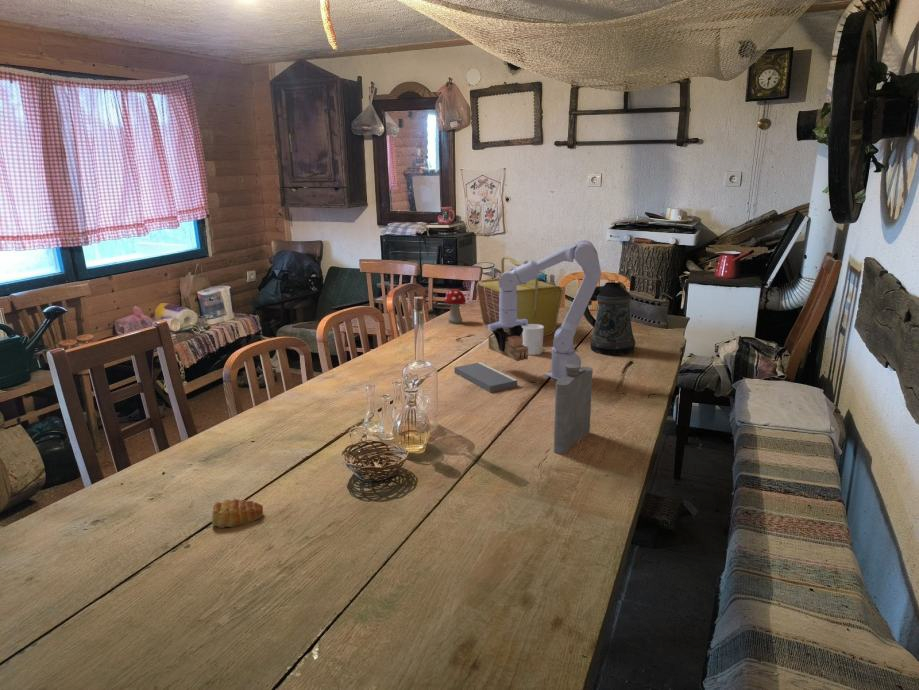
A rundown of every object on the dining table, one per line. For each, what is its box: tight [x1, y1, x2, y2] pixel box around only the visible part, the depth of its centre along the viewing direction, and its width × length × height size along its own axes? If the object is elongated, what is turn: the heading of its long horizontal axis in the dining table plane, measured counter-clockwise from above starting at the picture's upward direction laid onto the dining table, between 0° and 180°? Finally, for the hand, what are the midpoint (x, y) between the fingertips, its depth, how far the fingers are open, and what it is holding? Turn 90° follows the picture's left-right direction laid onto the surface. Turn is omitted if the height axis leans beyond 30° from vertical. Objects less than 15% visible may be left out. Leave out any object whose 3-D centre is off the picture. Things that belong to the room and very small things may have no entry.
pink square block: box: [507, 335, 523, 347], centre depth 197 cm, size 4×4×2 cm
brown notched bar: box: [488, 335, 529, 362], centre depth 201 cm, size 17×4×4 cm, turn 30°
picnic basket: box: [475, 256, 564, 338], centre depth 254 cm, size 29×26×30 cm
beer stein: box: [583, 281, 636, 357], centre depth 226 cm, size 16×19×25 cm
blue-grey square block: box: [492, 331, 509, 340], centre depth 204 cm, size 4×4×2 cm
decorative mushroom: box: [443, 288, 467, 325], centre depth 271 cm, size 10×9×15 cm
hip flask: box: [553, 363, 594, 455], centre depth 150 cm, size 16×4×20 cm, turn 144°
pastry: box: [211, 498, 264, 529], centre depth 121 cm, size 9×7×4 cm
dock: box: [454, 361, 518, 393], centre depth 198 cm, size 22×10×2 cm, turn 30°
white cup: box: [522, 324, 544, 356], centre depth 225 cm, size 8×8×10 cm
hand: (507, 349), depth 202 cm, fingers closed on brown notched bar, 4 cm apart
